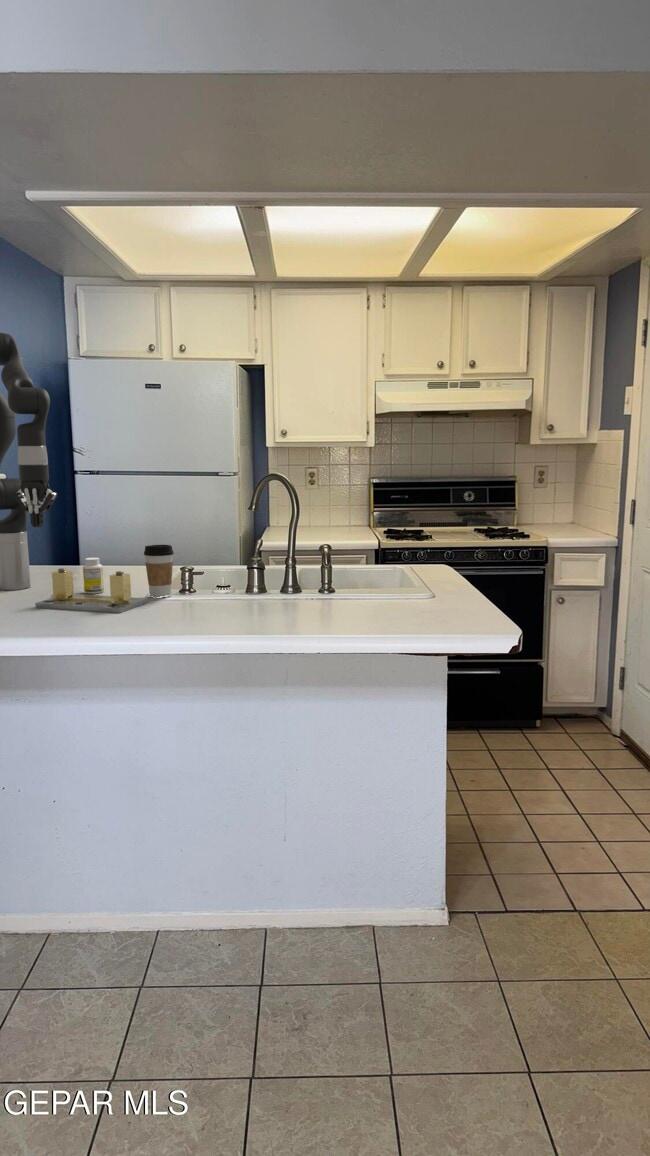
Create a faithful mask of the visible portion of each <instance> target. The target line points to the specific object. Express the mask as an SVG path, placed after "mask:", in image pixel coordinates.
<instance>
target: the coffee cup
mask: <svg viewBox="0 0 650 1156" xmlns="http://www.w3.org/2000/svg"><path fill="white" fill-rule="evenodd" d="M174 554H175V553H174V549H173V547H172V545H171V544H151V545H150V544H149V545H145V546H144V552H143V556H145V563H144V564H145V567H146V569H145V570H146V575H147V576H146V577H147V582H148V591H149V596H153V597H160V596H165V595H170V594H171V595H172V583H173V581H172V580H173V565H174V561H173V555H174Z"/></svg>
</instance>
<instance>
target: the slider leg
mask: <svg viewBox="0 0 650 1156" xmlns="http://www.w3.org/2000/svg"><path fill="white" fill-rule="evenodd" d="M73 574H74V573H73V571H72V570H67V568H64V567H63V568H58V569H57V570H56V571H53V572H51V579H52V593H53V594H51V596H50V598H53V601H55V600H56V599H65V600H66V599H68V597H67V596H70V597H74V594H75V591H74V578H73V576H74V575H73Z"/></svg>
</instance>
